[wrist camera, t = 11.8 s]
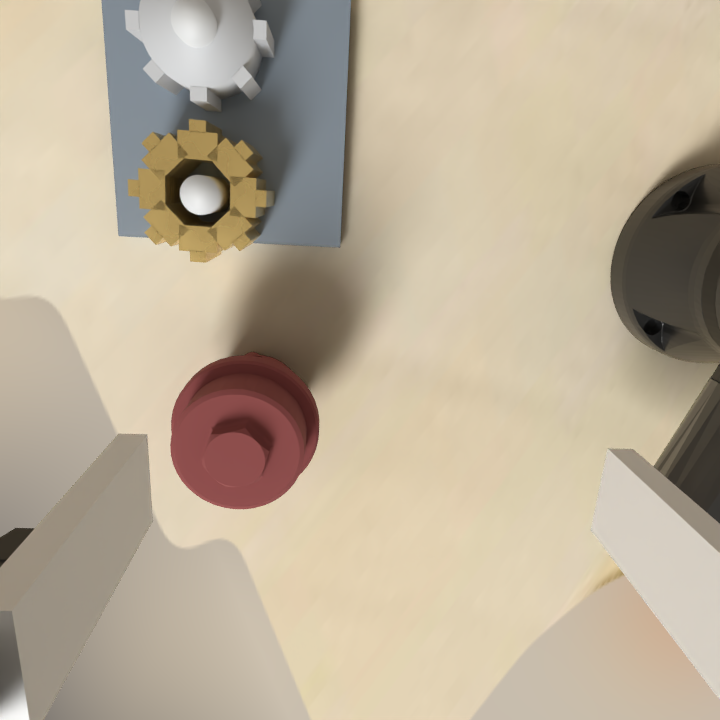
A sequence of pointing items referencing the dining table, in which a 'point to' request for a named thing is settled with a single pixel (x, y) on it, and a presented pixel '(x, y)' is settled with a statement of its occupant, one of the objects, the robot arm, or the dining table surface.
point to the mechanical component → (243, 431)
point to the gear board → (235, 102)
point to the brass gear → (171, 168)
